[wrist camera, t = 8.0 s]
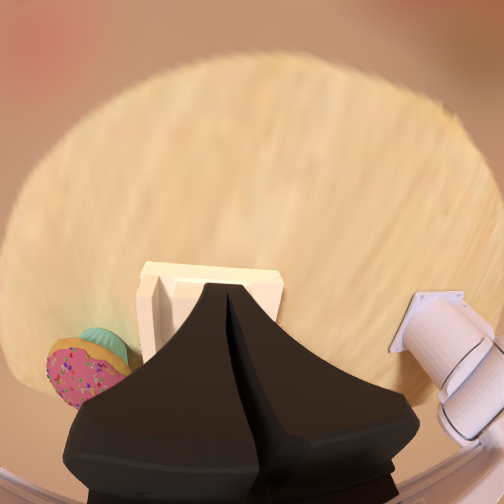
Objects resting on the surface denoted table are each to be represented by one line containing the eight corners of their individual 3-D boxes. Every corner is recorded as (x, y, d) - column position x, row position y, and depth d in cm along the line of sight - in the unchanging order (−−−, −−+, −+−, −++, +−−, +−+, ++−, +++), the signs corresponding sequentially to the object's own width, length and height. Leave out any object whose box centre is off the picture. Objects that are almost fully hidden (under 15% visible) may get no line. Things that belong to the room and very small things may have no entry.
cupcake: (150, 326, 22) (124, 450, 11) (142, 385, 25) (128, 486, 14) (62, 299, 20) (0, 400, 9) (69, 362, 23) (34, 453, 12)
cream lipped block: (278, 270, 21) (294, 305, 17) (254, 382, 26) (261, 419, 22) (146, 261, 20) (130, 295, 15) (156, 377, 24) (150, 415, 20)
